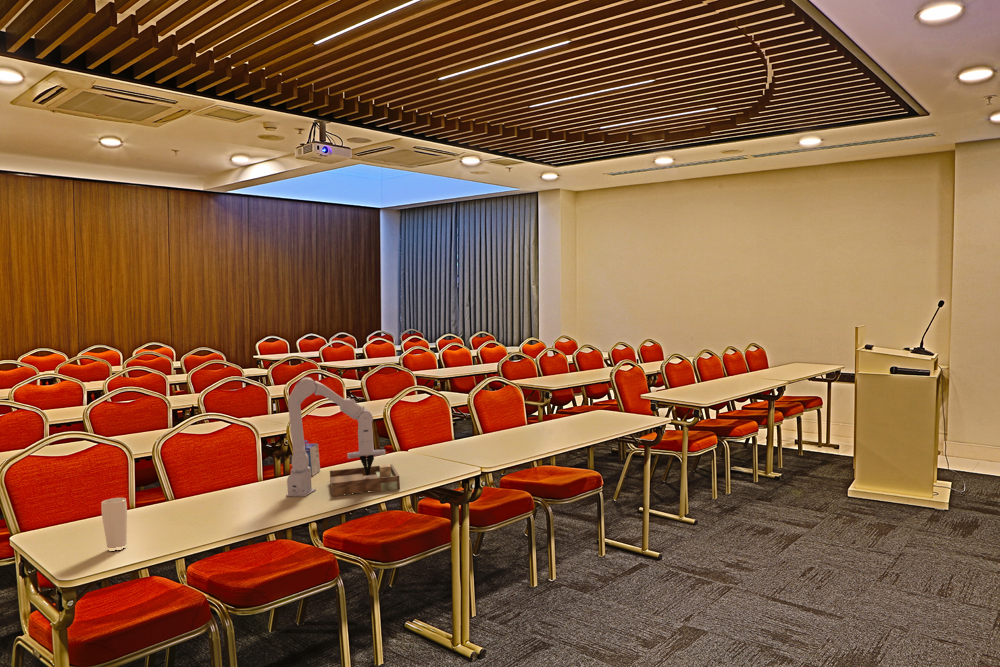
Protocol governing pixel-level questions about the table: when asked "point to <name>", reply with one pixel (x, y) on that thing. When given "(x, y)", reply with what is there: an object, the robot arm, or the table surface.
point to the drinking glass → (115, 521)
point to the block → (385, 470)
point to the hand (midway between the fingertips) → (367, 474)
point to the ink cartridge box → (313, 457)
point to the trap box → (362, 480)
